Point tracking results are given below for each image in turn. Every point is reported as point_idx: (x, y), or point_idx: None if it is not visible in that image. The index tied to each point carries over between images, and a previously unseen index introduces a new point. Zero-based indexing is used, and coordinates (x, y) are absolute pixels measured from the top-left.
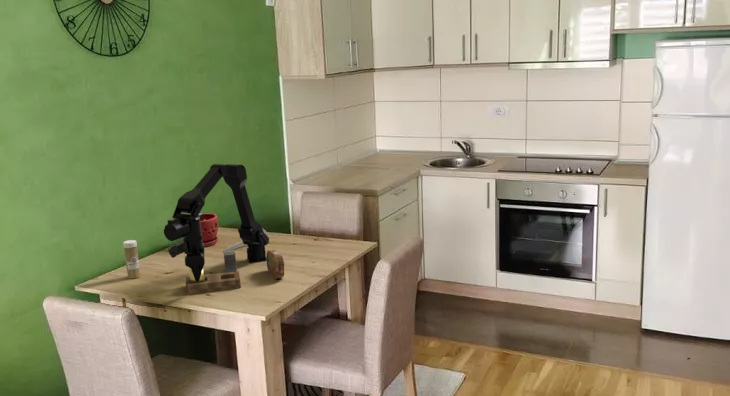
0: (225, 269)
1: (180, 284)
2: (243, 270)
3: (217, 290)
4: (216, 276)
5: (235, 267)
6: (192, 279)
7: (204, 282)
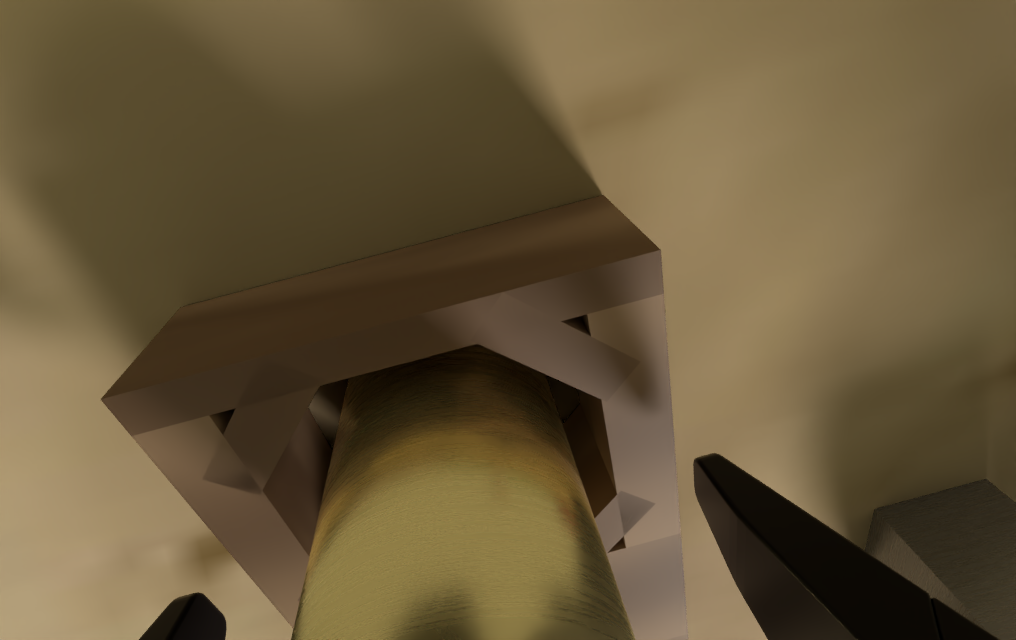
0: (913, 553)
1: (697, 50)
2: None
3: None
4: None
5: None
6: (322, 502)
7: None
